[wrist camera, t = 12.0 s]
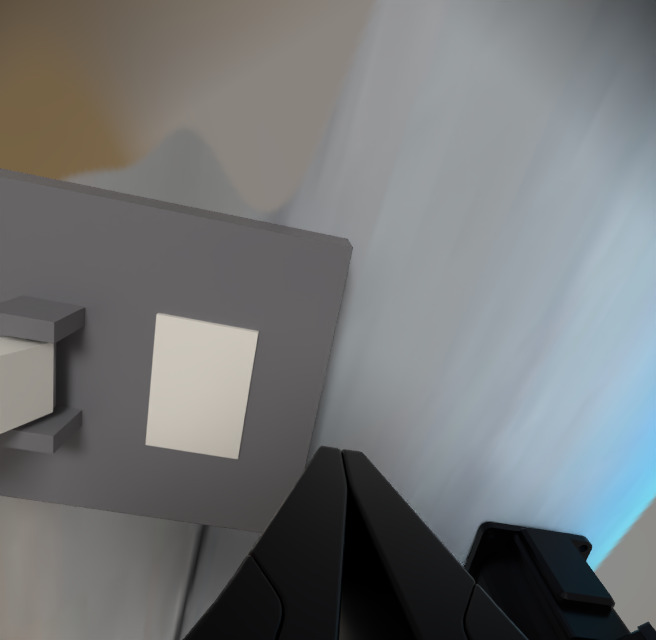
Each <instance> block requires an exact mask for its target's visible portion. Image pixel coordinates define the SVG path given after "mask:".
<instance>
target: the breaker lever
mask: <svg viewBox="0 0 656 640" xmlns="http://www.w3.org/2000/svg"><path fill="white" fill-rule="evenodd" d="M55 406H56V343H54V344H53V343H48V342H42V341H36V340H30V339H25V338H19V337H13V336H3V337H0V434H1V433H4V432H6V431H9V430H11V429H13V428H16V427H18V426H21V425H23V424H26V423H28V422H30V421H33V420H35V419H38V418H40V417H42V416H45V415H47V414H50V413H52V412H53V408H54V407H55Z"/></svg>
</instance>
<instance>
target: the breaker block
mask: <svg viewBox="0 0 656 640" xmlns="http://www.w3.org/2000/svg"><path fill="white" fill-rule="evenodd" d="M352 250H353V247H352V245H351V244H350V242H349V240H348V239H345V238H340V237H335V236H330V235H325V234H320V233H315V232H311V231H306V230H301V229H296V228H291V227H286V226H281V225H276V224H271V223H266V222H261V221H256V220H252V219H247V218H242V217H237V216H232V215H227V214H222V213H217V212H212V211H207V210H202V209H198V208H193V207H188V206H183V205H178V204H173V203H168V202H163V201H158V200H153V199H148V198H144V197H139V196H134V195H129V194H124V193H119V192H114V191H109V190H104V189H99V188H94V187H89V186H85V185H80V184H75V183H70V182H65V181H60V180H55V179H50V178H45V177H40V176H35V175H30V174H25V173H21V172H16V171H11V170H6V169H1V168H0V337H3V336H13V337H19V338H25V339H30V340H36V341H42V342H48V343H53V344H54V343H56V406H55V407H54V408H53V412H52V413H50V414H47V415H45V416H42V417H40V418H38V419H35V420H33V421H30V422H28V423H26V424H23V425H21V426H18V427H16V428H13V429H11V430H9V431H6V432H4V433H1V434H0V495H1V496H8V497H15V498H22V499H29V500H36V501H43V502H50V503H57V504H64V505H71V506H78V507H85V508H92V509H98V510H105V511H112V512H119V513H126V514H133V515H140V516H147V517H154V518H161V519H168V520H175V521H182V522H189V523H196V524H203V525H210V526H217V527H224V528H231V529H238V530H245V531H252V532H259V533H263V531H264V530H265V528H266V527H267V525H268V524H269V522H270V521H271V519H272V518H273V516H274V515H275V513H276V512H277V510H278V509H279V507H280V506H281V504H282V503H283V501H284V500H285V498H286V497H287V495H288V494H289V492H290V491H291V489H292V488H293V486H294V485H295V483H296V482H297V480H298V479H299V477H300V476H301V474H302V473H303V471H304V469H305V465H306V460H307V456H308V451H309V447H310V442H311V437H312V433H313V428H314V424H315V419H316V415H317V410H318V405H319V401H320V396H321V392H322V387H323V383H324V378H325V373H326V369H327V364H328V360H329V355H330V351H331V346H332V341H333V337H334V332H335V328H336V323H337V319H338V314H339V309H340V305H341V300H342V296H343V291H344V287H345V282H346V277H347V273H348V268H349V264H350V259H351V254H352Z"/></svg>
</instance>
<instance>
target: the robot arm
mask: <svg viewBox="0 0 656 640" xmlns="http://www.w3.org/2000/svg"><path fill="white" fill-rule="evenodd" d="M490 531H492V532H490ZM488 532H490V533H488ZM591 550H592V544H591V543H590V542H589V541H588V539H587V538H586V537H584V536H580V535H573V534H567V533H560V532H553V531H547V530H540V529H534V528H527V527H521V526H514V525H507V524H501V523H494V522H487V523H484V524H483V525H482V526H481V527H480V529H479V532H478V535H477V537H476V540H475V542H474V545H473V548H472V550H471V553H470V556H469V558H468V561H467V563H466V566H465V569H464V567H463V566H462V565H461V564H460V563H459V562H458V561H457V560H456V558H455V557H454V556H453V555H452V554H451V553H450V552H449V550H448V549H447V548H446V547H445V546H444V545H443V544H442V542H441V541H440V540H439V539H438V538H437V537H436V536H435V534H434V533H433V532H432V531H431V530H430V529H429V528H428V526H427V525H426V524H425V523H424V522H423V521H422V520H421V519H420V517H419V516H418V515H417V514H416V513H415V512H414V511H413V509H412V508H411V507H410V506H409V505H408V504H407V503H406V501H405V500H404V499H403V498H402V497H401V496H400V495H399V493H398V492H397V491H396V490H395V489H394V488H393V487H392V485H391V484H390V483H389V482H388V481H387V480H386V479H385V478H384V476H383V475H382V474H381V473H380V472H379V471H378V470H377V468H376V467H375V466H374V465H373V464H372V463H371V462H370V460H369V459H368V458H367V457H366V456H365V455H364V454H363V453H362V452H359V451H352V450H342V451H341V450H340V449H338V448H332V447H325V446H321V447H320V448H319V449H318V450H317V452H316V453H315V455H314V456H313V458H312V459H311V461H310V462H309V464H308V465H307V467H306V468H305V470H304V471H303V473H302V474H301V476H300V477H299V479H298V480H297V482H296V483H295V485H294V486H293V488H292V489H291V491H290V492H289V494H288V495H287V497H286V498H285V500H284V501H283V503H282V504H281V506H280V507H279V509H278V510H277V512H276V513H275V515H274V516H273V518H272V519H271V521H270V522H269V524H268V525H267V527H266V528H265V530H264V531H263V533H262V534H261V536H260V537H259V539H258V540H257V542H256V543H255V545H254V546H253V548H252V549H251V551H250V552H249V555H248V556H247V557H246V558H245V559H244V561H243V562H242V564H241V565H240V567H239V568H238V570H237V571H236V573H235V574H234V576H233V577H232V578H231V580H230V581H229V582H228V584H227V585H226V587H225V588H224V589H223V591H222V592H221V593H220V595H219V596H218V598H217V599H216V600H215V602H214V603H213V604H212V605H211V607H210V608H209V609H208V610H207V611H206V613H205V614H204V615H203V616H202V617H201V619H200V620H199V621H198V622H197V623H196V625H195V626H194V627H193V628H192V629H191V631H190V632H189V633H188V634H187V635H186V636H185V638H184V639H183V640H656V631H655V629H654V628H653V627H652V626H651V624H650V623H649V622H647V623H644V624H642V625H640V626H638V630H636V631H634V632H632V633H630V631H629V630H628V629H627V627H626V626H625V624H624V623H623V621H622V620H621V618H620V617H619V616H618V614H617V613H616V612H615V610H614V609H613V607H614V605H615V602H614V600H613V598H612V597H611V595H610V594H609V593H608V591H607V590H606V589H605V587H604V586H603V584H602V583H601V582H600V580H599V579H598V578H597V576H596V575H595V573H594V572H593V570H592V569H591V568H590V566H589V565H588V564H587V562H586V560H587V558H588V556H589V554H590V552H591Z"/></svg>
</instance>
